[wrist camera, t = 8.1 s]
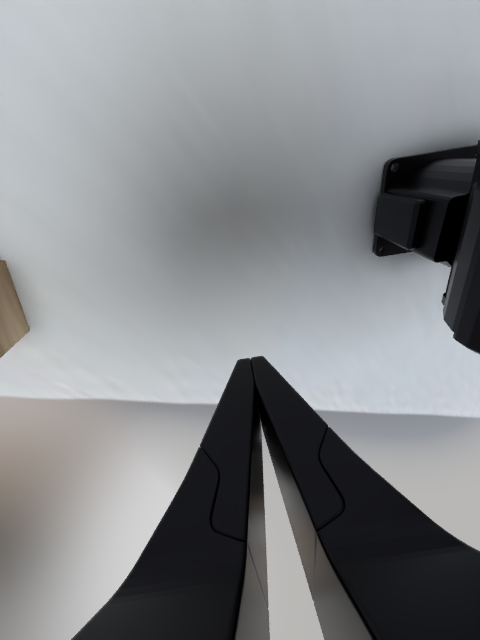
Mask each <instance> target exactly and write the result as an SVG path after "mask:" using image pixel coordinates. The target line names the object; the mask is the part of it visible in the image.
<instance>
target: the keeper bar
mask: <svg viewBox="0 0 480 640" xmlns="http://www.w3.org/2000/svg"><path fill="white" fill-rule="evenodd" d="M29 331H30V329H29V326H28V323H27V320H26V317H25V315H24V312H23V309H22V306H21V304H20V301H19V298H18V295H17V292H16V290H15V287H14V284H13V281H12V279H11V276H10V273H9V270H8V268H7V265H6V262H5V261H2V260H0V358H1V357H2V356H3V355H4V354H5V353H6V352H7V351H8V350H9V349H10V348H11V347H13V346H14V345H15V344H16V343H17V342H18V341H19V340H20V339H21V338H22V337H23V336H24V335H25V334H26V333H27V332H29Z"/></svg>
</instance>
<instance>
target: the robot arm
mask: <svg viewBox="0 0 480 640" xmlns="http://www.w3.org/2000/svg"><path fill="white" fill-rule="evenodd" d="M475 154H477V156H476V157H475ZM393 164H395V169H394V170H393V171H391V166H392V165H393ZM374 233H375V239H374V246H373V253H374V254H375V255H377V256H379V257H382V256H388V255H394V254H400V253H407V252H415V253H417V254H419V255H421V256H423V257H425V258H427V259H429V260H432V261H434V262H437V263H438V262H440V263H442V264H444V265H446V266H448V267H450V268H451V272H450V276H449V280H448V284H447V289H446V293H444V294H443V297H442V303H443V305H444V308H443V316H444V321H445V322H446V323H447V325H448V326H449V327H450V329H451V330H452V331H453V332H454V335H453V338H454V339H455V340H456V341H458V342H459V343H461V344H462V345H464V346H465V347H467V348H468V349H470V350H472V351H474V352H476V353H478V354H480V140H478V144H477V145H472V146H466V147H460V148H453V149H447V150H441V151H435V152H429V153H423V154H417V155H411V156H405V157H399V158H393V159H390V160H389V161H387V163H386V164H385V166H384V171H383V179H382V186H381V194H380V195H379V197H378V202H377V210H376V217H375V225H374ZM381 247H383V249H382V250H381V251H380V252H379V249H380V248H381ZM259 414H260V415H259ZM260 420H261V422H260ZM261 425H262V428H263V432H264V436H265V439H266V443H267V446H268V449H269V453H270V456H271V460H272V463H273V466H274V470H275V473H276V476H277V480H278V483H279V487H280V490H281V494H282V497H283V500H284V504H285V507H286V510H287V514H288V517H289V521H290V524H291V527H292V531H293V534H294V538H295V541H296V544H297V548H298V551H299V555H300V557H301V561H302V565H303V568H304V571H305V575H306V578H307V582H308V585H309V588H310V592H311V595H312V599H313V601H314V605H315V609H316V612H317V616H318V619H319V622H320V626H321V629H322V633H323V636H324V639H325V640H480V551H478V550H476V549H474V548H472V547H470V546H469V545H467V544H465V543H464V542H462V541H460V540H459V539H457V538H456V537H454V536H453V535H451V534H450V533H448V532H447V531H445V530H444V529H443V528H441V527H440V526H439V525H437V524H436V523H435V522H434V521H432V520H431V519H430V518H429V517H428V516H427V515H425V514H424V513H423V512H422V511H421V510H419V509H418V508H417V507H416V506H415V505H414V504H413V503H411V502H410V501H409V500H408V499H407V498H406V497H405V496H403V495H402V494H401V493H400V492H399V491H397V490H396V489H395V488H394V487H393V486H392V485H391V484H390V483H388V482H387V481H386V480H385V479H384V478H383V477H381V476H380V475H379V474H378V473H377V472H375V471H374V470H373V469H372V468H371V467H370V466H369V465H368V464H367V463H365V461H363V460H362V459H361V458H360V457H359V456H358V455H357V454H356V453H354V451H353V450H352V449H351V448H350V447H349V446H348V445H347V444H346V443H345V442H344V441H343V440H342V439H341V438H340V437H339V436H338V435H337V434H336V433H335V432H334V431H333V430H332V429H331V428H330V427H328V425H327V424H326V423H325V421H323V419H322V418H321V417H320V416H319V415H318V414H317V413H316V412H315V411H314V410H313V409H312V408H311V407H310V405H309V404H308V403H307V402H306V401H305V400H304V399H303V398H302V397H301V396H300V395H299V394H298V393H297V392H296V391H295V389H294V388H293V387H292V386H291V385H290V384H289V383H288V382H287V381H286V380H285V379H284V378H283V377H282V376H281V375H280V373H279V372H278V371H277V370H276V369H275V368H274V367H273V366H272V365H271V364H270V363H269V362H268V361H267V360H266V359H265V358H264V357H263V356H258V357H252V358H251V360H250V358H246V359H239V360H238V361H237V363H236V365H235V367H234V370H233V372H232V374H231V376H230V379H229V381H228V383H227V385H226V388H225V390H224V392H223V394H222V397H221V399H220V401H219V403H218V406H217V408H216V410H215V412H214V415H213V417H212V419H211V421H210V424H209V426H208V428H207V430H206V433H205V435H204V437H203V439H202V442H201V444H200V447H199V448H198V450H197V453H196V455H195V457H194V459H193V462H192V464H191V466H190V468H189V470H188V472H187V474H186V476H185V478H184V480H183V482H182V484H181V486H180V488H179V489H178V491H177V493H176V495H175V497H174V499H173V501H172V502H171V504H170V506H169V507H168V509H167V511H166V512H165V514H164V516H163V518H162V519H161V521H160V523H159V525H158V526H157V528H156V530H155V531H154V533H153V535H152V537H151V538H150V540H149V542H148V544H147V545H146V547H145V549H144V550H143V552H142V554H141V556H140V557H139V559H138V561H137V562H136V564H135V566H134V567H133V569H132V570H131V572H130V573H129V575H128V576H127V578H126V579H125V581H124V582H123V583H122V585H121V586H120V587H119V589H118V590H117V591H116V593H115V594H114V595H113V596H112V597H111V598H110V600H109V601H108V602H107V603H106V604H105V605H104V606H103V607H102V608H101V609H100V610H99V611H98V612H97V613H96V614H95V616H94V617H93V618H92V619H91V620H90V621H89V622H88V623H87V624H86V625H85V626H84V627H83V628H82V629H81V630H80V631H79V632H78V633H77V634H76V635H75V636H74V637H73V638H72V639H71V640H270V634H269V611H268V586H267V560H266V535H265V511H264V510H265V509H264V484H263V460H262V434H261Z"/></svg>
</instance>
